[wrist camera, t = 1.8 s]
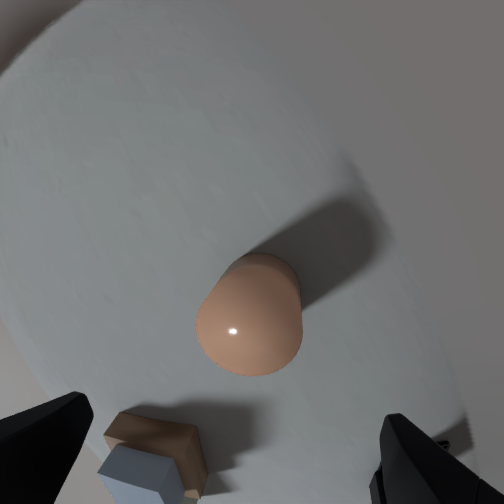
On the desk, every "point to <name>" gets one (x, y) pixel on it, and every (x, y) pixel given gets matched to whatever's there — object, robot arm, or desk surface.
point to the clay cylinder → (252, 316)
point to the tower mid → (141, 477)
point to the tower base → (163, 446)
